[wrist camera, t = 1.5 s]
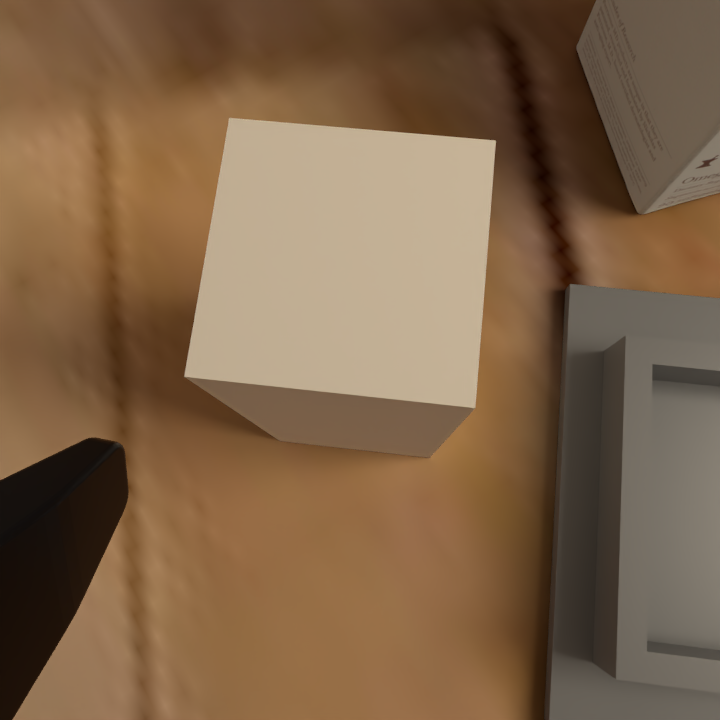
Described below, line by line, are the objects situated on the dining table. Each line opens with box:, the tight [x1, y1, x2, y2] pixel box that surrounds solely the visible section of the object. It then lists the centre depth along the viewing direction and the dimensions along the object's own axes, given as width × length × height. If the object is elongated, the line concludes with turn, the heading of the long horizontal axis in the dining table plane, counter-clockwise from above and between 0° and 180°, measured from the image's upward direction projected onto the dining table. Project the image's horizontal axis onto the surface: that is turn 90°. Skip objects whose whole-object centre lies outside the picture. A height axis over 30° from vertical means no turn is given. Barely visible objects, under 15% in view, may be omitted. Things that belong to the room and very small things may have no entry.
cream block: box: [184, 118, 496, 458], centre depth 17 cm, size 5×5×11 cm
